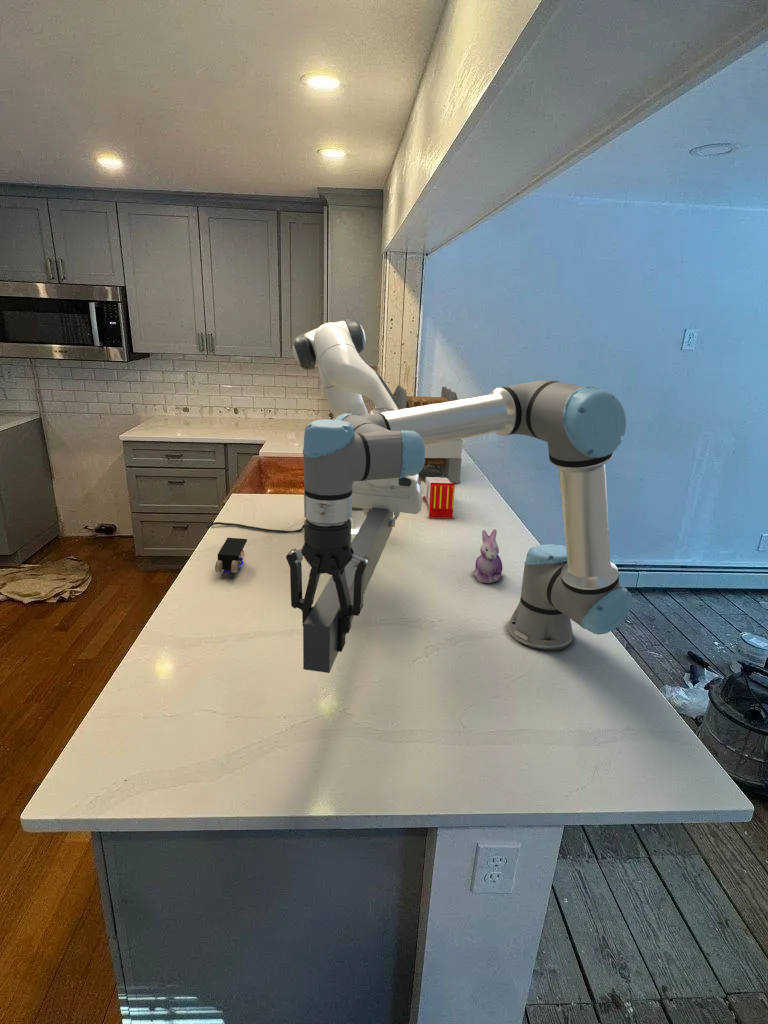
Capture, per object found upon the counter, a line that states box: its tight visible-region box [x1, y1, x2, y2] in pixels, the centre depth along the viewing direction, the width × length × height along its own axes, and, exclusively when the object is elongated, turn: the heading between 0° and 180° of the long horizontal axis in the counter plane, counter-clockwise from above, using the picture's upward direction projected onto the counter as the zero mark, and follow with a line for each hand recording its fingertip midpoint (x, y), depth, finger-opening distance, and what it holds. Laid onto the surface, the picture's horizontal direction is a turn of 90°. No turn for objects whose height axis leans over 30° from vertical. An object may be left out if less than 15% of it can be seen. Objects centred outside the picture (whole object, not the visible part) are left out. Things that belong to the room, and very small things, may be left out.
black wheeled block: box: [214, 537, 248, 578], centre depth 166 cm, size 7×8×15 cm
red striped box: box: [420, 476, 456, 519], centre depth 228 cm, size 12×13×30 cm
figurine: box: [474, 528, 503, 584], centre depth 167 cm, size 9×10×15 cm
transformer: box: [392, 384, 464, 484], centre depth 268 cm, size 34×33×41 cm
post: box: [302, 508, 394, 674], centre depth 122 cm, size 67×4×8 cm, turn 170°
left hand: (381, 525), depth 147 cm, fingers closed on post, 4 cm apart
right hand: (326, 645), depth 98 cm, fingers closed on post, 4 cm apart
